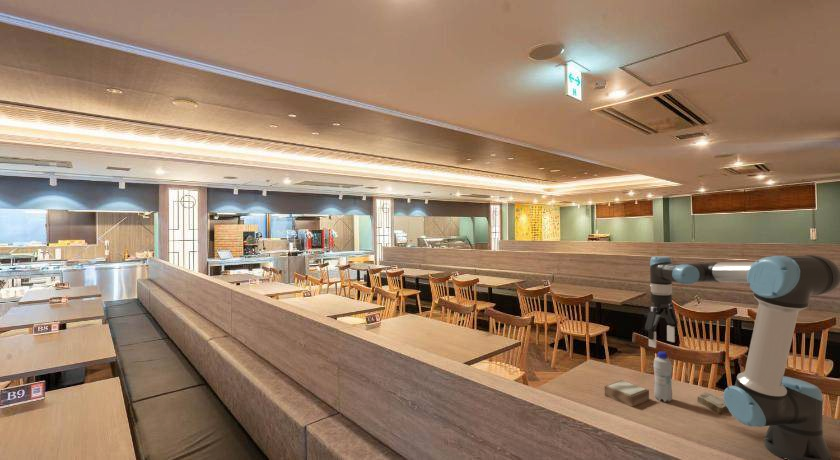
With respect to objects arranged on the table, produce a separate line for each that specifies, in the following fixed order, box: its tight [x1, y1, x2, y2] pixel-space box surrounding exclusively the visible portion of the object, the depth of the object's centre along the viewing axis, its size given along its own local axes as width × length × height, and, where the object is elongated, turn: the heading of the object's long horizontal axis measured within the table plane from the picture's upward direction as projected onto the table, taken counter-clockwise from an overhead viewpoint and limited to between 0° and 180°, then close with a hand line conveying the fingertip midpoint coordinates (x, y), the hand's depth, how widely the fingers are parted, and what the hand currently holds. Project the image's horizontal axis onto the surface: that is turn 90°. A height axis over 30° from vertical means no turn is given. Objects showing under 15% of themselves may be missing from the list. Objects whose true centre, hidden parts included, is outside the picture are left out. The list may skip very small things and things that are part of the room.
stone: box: [696, 391, 729, 416], centre depth 152 cm, size 15×8×3 cm, turn 4°
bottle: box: [653, 351, 673, 403], centre depth 158 cm, size 7×7×20 cm
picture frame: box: [604, 379, 650, 408], centre depth 161 cm, size 12×12×4 cm
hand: (661, 344), depth 158 cm, fingers open, 13 cm apart
